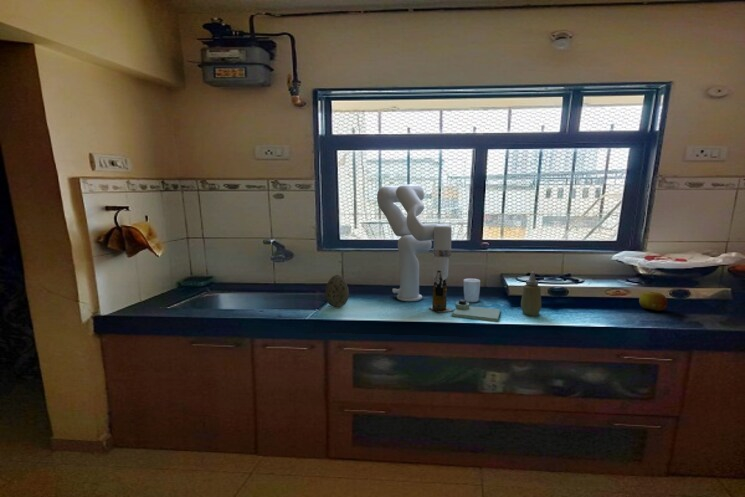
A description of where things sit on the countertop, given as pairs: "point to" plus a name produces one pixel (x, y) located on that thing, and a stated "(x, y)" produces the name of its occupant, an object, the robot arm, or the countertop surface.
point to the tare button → (462, 302)
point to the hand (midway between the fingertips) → (441, 293)
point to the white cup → (471, 289)
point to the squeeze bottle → (531, 297)
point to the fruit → (653, 301)
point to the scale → (476, 312)
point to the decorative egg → (337, 292)
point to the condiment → (440, 300)
